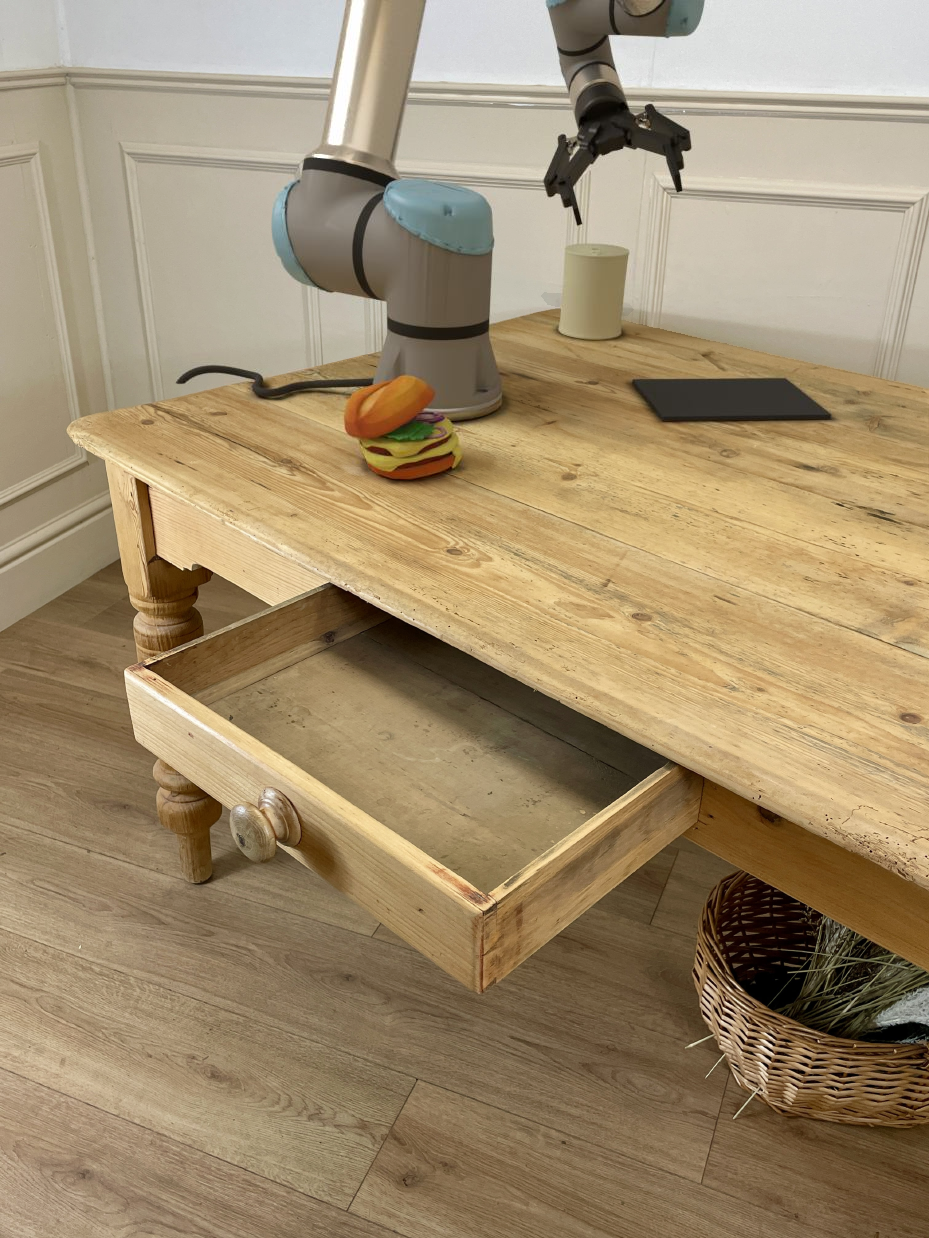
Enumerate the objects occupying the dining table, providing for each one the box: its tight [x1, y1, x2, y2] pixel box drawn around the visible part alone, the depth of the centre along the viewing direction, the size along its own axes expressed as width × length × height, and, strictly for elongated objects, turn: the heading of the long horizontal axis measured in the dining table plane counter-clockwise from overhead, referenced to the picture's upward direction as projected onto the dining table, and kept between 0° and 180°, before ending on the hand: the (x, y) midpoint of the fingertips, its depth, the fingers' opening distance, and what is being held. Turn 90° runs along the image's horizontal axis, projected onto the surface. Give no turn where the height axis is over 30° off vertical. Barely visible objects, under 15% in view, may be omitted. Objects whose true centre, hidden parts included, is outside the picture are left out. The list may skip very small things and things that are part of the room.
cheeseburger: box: [343, 375, 463, 480], centre depth 98 cm, size 10×11×10 cm
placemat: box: [631, 377, 832, 422], centre depth 120 cm, size 20×14×1 cm
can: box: [558, 243, 630, 341], centre depth 143 cm, size 9×9×12 cm
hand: (627, 200), depth 132 cm, fingers open, 13 cm apart
